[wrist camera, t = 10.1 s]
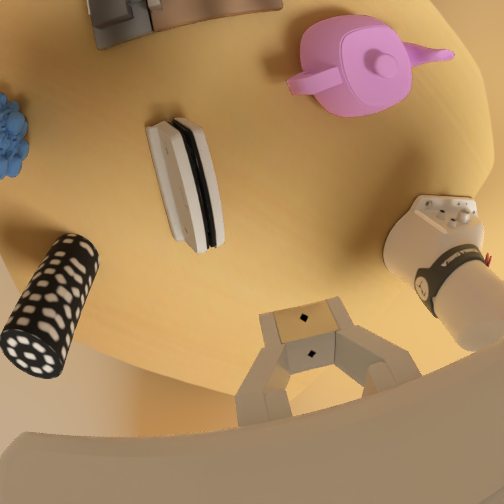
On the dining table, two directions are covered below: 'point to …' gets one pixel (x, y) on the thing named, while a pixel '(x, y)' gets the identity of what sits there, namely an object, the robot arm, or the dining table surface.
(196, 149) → the light grey rounded piece
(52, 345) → the white-spotted black cylinder
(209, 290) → the dining table surface
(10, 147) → the grapes
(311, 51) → the teapot
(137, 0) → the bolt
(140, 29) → the door board
